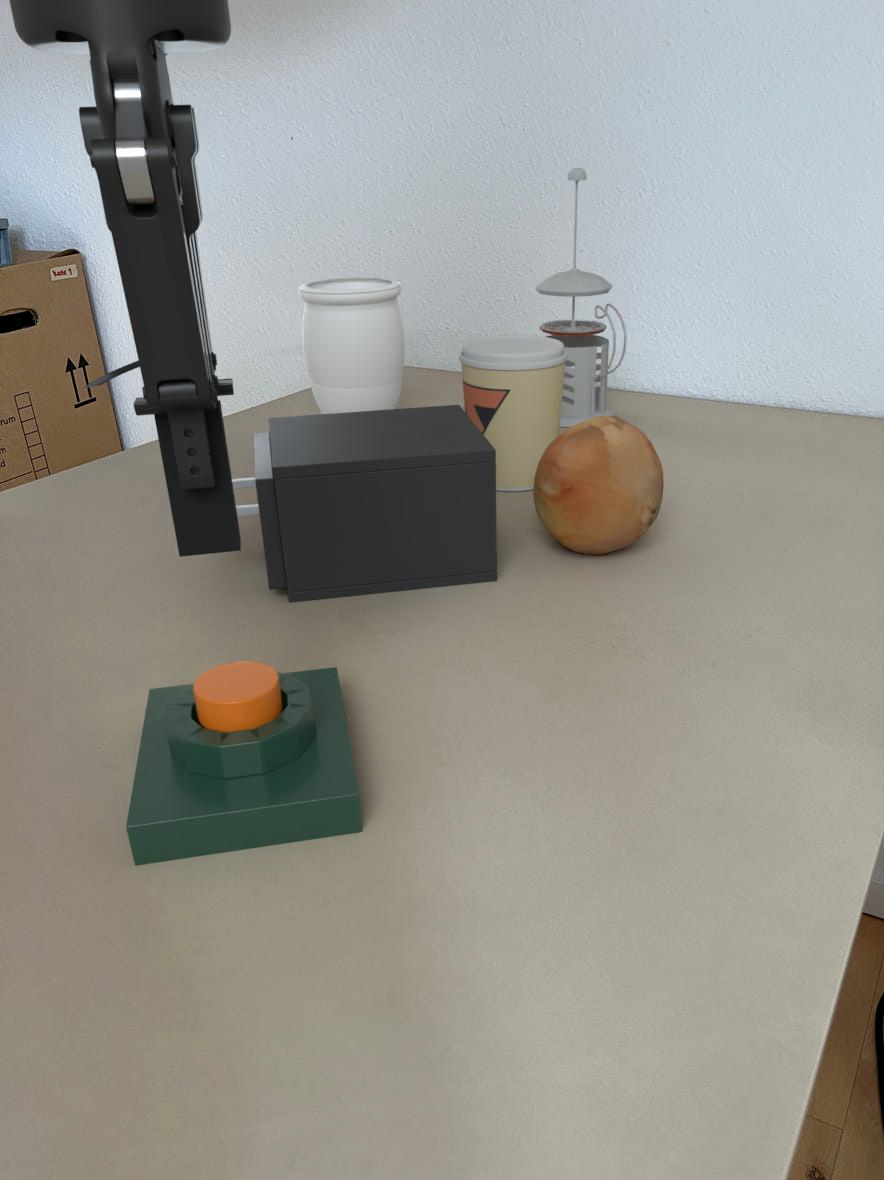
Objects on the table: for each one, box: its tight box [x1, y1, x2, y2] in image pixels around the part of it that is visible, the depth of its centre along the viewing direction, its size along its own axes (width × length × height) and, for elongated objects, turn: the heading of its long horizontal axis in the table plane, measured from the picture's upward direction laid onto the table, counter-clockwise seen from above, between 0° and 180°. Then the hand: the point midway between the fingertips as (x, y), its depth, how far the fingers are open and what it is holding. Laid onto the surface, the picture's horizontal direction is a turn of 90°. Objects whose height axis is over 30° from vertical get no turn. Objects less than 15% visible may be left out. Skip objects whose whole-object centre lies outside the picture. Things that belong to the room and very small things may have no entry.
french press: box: [535, 166, 627, 428], centre depth 102 cm, size 10×12×25 cm
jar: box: [296, 277, 406, 414], centre depth 101 cm, size 11×10×15 cm
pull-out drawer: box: [232, 431, 287, 590], centre depth 70 cm, size 18×11×8 cm, turn 102°
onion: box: [532, 415, 665, 556], centre depth 72 cm, size 10×10×10 cm
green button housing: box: [125, 666, 363, 867], centre depth 48 cm, size 12×10×4 cm
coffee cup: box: [458, 334, 567, 492], centre depth 87 cm, size 9×9×12 cm
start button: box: [193, 660, 283, 732], centre depth 47 cm, size 4×4×2 cm
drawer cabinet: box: [267, 404, 498, 604], centre depth 71 cm, size 15×13×10 cm
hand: (210, 547), depth 45 cm, fingers closed
